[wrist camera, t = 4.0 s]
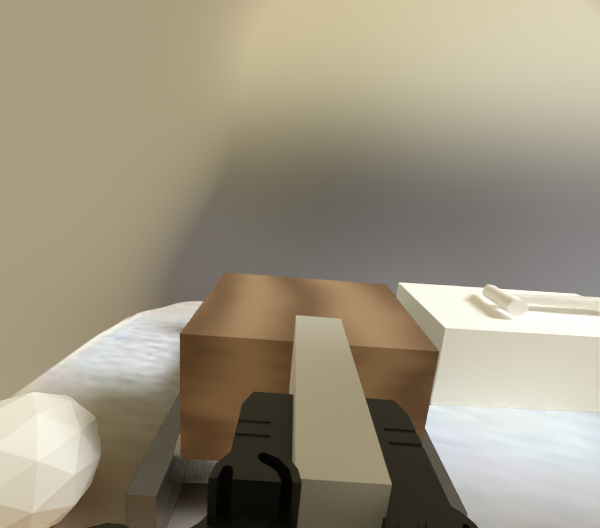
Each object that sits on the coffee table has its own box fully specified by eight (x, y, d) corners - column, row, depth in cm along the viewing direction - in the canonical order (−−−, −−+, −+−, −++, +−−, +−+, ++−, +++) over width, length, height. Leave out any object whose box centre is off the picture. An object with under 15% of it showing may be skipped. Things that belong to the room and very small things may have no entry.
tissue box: (389, 341, 50) (401, 265, 47) (560, 350, 51) (581, 278, 49) (430, 407, 36) (450, 305, 33) (663, 417, 37) (700, 320, 35)
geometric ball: (69, 518, 24) (141, 412, 26) (-5, 619, 17) (103, 459, 18) (-33, 464, 24) (46, 358, 25) (-163, 543, 16) (-36, 382, 17)
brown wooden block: (374, 367, 33) (386, 284, 31) (416, 472, 21) (439, 351, 19) (222, 356, 33) (224, 272, 31) (180, 458, 21) (179, 333, 19)
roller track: (364, 344, 48) (369, 312, 47) (454, 568, 21) (469, 506, 20) (225, 334, 47) (226, 302, 46) (128, 551, 20) (125, 486, 19)
